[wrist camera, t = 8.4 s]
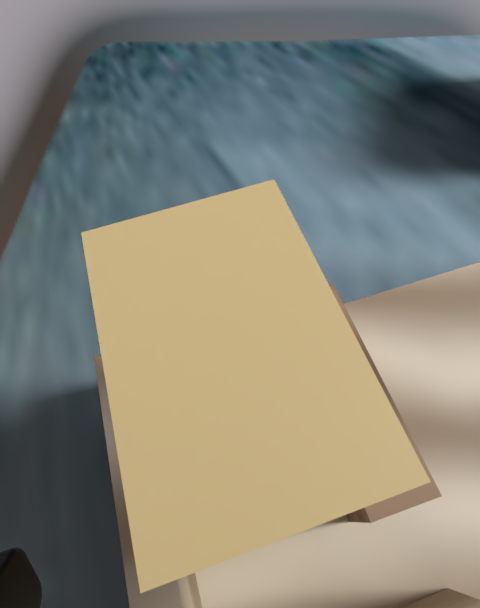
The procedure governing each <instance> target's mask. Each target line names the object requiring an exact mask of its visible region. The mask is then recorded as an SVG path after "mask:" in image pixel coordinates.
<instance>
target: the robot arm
mask: <svg viewBox="0 0 480 608" xmlns="http://www.w3.org/2000/svg"><path fill="white" fill-rule="evenodd" d="M41 598H42V589H41V584H40V581H39V579H38V577H37V575H36V573H35V571H34V569H33V567H32V565H31V563H30V561H29V559H28V558H27V556H26V554H25V552H24V551H23V550H22V549H21V548H12V549H9V550H6V551H3V552H0V608H40V605H41Z"/></svg>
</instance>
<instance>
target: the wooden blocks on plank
mask: <svg viewBox="0 0 480 608" xmlns="http://www.w3.org/2000/svg"><path fill="white" fill-rule="evenodd" d="M329 286H330V288H331V290H332V292H333V294H334V296H335V298H336V300H337V302H338V304H339V306H340V307H341V309H342V311H343V313H344V315H345V317H346V319H347V321H348V323H349V325H350V327H351V329H352V331H353V333H354V335H355V336H356V338H357V340H358V342H359V344H360V346H361V348H362V350H363V352H364V354H365V356H366V358H367V360H368V362H369V363H370V365H371V367H372V369H373V371H374V373H375V375H376V377H377V379H378V381H379V383H380V385H381V387H382V389H383V391H384V392H385V394H386V396H387V398H388V400H389V402H390V404H391V406H392V408H393V410H394V412H395V414H396V416H397V418H398V419H399V421H400V423H401V425H402V427H403V429H404V431H405V433H406V435H407V437H408V439H409V441H410V443H411V445H412V447H413V448H414V450H415V452H416V454H417V456H418V458H419V460H420V462H421V464H422V466H423V468H424V470H425V472H426V474H427V475H428V477H429V479H430V481H431V482H430V483H427V484H424V485H422V486H419V487H417V488H414V489H411V490H409V491H406V492H404V493H401V494H398V495H396V496H393V497H391V498H388V499H385V500H383V501H380V502H378V503H375V504H372V505H370V506H367V507H365V508H362V509H359V510H357V511H354V512H352V513H349V514H346V515H344V516H341V517H339V518H336V519H333V520H331V521H328V522H326V523H323V524H320V525H318V526H315V527H313V528H310V529H307V530H305V531H302V532H300V533H297V534H294V535H292V536H289V537H286V538H284V539H281V540H279V541H276V542H273V543H271V544H268V545H266V546H263V547H260V548H258V549H255V550H253V551H250V552H247V553H245V554H242V555H240V556H237V557H234V558H232V559H229V560H227V561H224V562H221V563H219V564H216V565H214V566H211V567H208V568H206V569H203V570H201V571H198V572H195V573H193V574H190V575H188V576H185V577H182V578H180V579H177V580H175V581H172V582H169V583H167V584H164V585H162V586H159V587H156V588H154V589H151V590H149V591H146V592H143V593H141V594H140V588H139V582H138V576H137V570H136V564H135V558H134V551H133V545H132V539H131V533H130V527H129V521H128V515H127V509H126V503H125V497H124V490H123V484H122V478H121V472H120V466H119V460H118V454H117V448H116V442H115V436H114V429H113V423H112V417H111V411H110V405H109V399H108V393H107V387H106V381H105V375H104V368H103V362H102V356H101V354H100V355H97V356H94V360H95V367H96V374H97V381H98V389H99V396H100V403H101V410H102V417H103V424H104V431H105V438H106V445H107V452H108V459H109V466H110V473H111V480H112V487H113V494H114V501H115V508H116V515H117V522H118V529H119V536H120V543H121V550H122V557H123V564H124V571H125V578H126V586H127V593H128V600H129V607H130V608H480V262H478V263H475V264H472V265H469V266H465V267H462V268H459V269H456V270H452V271H449V272H446V273H443V274H440V275H436V276H433V277H430V278H427V279H423V280H420V281H417V282H414V283H410V284H407V285H404V286H401V287H398V288H394V289H391V290H388V291H385V292H381V293H378V294H375V295H372V296H368V297H365V298H362V299H359V300H356V301H352V302H349V303H346V304H343V302H342V300H341V298H340V296H339V294H338V292H337V290H336V288H335V286H334V284H332V285H329Z"/></svg>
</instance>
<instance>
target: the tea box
mask: <svg viewBox="0 0 480 608" xmlns="http://www.w3.org/2000/svg"><path fill="white" fill-rule="evenodd" d="M81 234H82V240H83V246H84V253H85V259H86V265H87V271H88V277H89V283H90V289H91V295H92V301H93V307H94V314H95V320H96V326H97V332H98V338H99V344H100V350H101V356H102V362H103V368H104V375H105V381H106V387H107V393H108V399H109V405H110V411H111V417H112V423H113V429H114V436H115V442H116V448H117V454H118V460H119V466H120V472H121V478H122V484H123V490H124V497H125V503H126V509H127V515H128V521H129V527H130V533H131V539H132V545H133V551H134V558H135V564H136V570H137V576H138V582H139V588H140V594H141V593H143V592H146V591H149V590H151V589H154V588H156V587H159V586H162V585H164V584H167V583H169V582H172V581H175V580H177V579H180V578H182V577H185V576H188V575H190V574H193V573H195V572H198V571H201V570H203V569H206V568H208V567H211V566H214V565H216V564H219V563H221V562H224V561H227V560H229V559H232V558H234V557H237V556H240V555H242V554H245V553H247V552H250V551H253V550H255V549H258V548H260V547H263V546H266V545H268V544H271V543H273V542H276V541H279V540H281V539H284V538H286V537H289V536H292V535H294V534H297V533H300V532H302V531H305V530H307V529H310V528H313V527H315V526H318V525H320V524H323V523H326V522H328V521H331V520H333V519H336V518H339V517H341V516H344V515H346V514H349V513H352V512H354V511H357V510H359V509H362V508H365V507H367V506H370V505H372V504H375V503H378V502H380V501H383V500H385V499H388V498H391V497H393V496H396V495H398V494H401V493H404V492H406V491H409V490H411V489H414V488H417V487H419V486H422V485H424V484H427V483H430V482H431V481H430V479H429V477H428V475H427V474H426V472H425V470H424V468H423V466H422V464H421V462H420V460H419V458H418V456H417V454H416V452H415V450H414V448H413V447H412V445H411V443H410V441H409V439H408V437H407V435H406V433H405V431H404V429H403V427H402V425H401V423H400V421H399V419H398V418H397V416H396V414H395V412H394V410H393V408H392V406H391V404H390V402H389V400H388V398H387V396H386V394H385V392H384V391H383V389H382V387H381V385H380V383H379V381H378V379H377V377H376V375H375V373H374V371H373V369H372V367H371V365H370V363H369V362H368V360H367V358H366V356H365V354H364V352H363V350H362V348H361V346H360V344H359V342H358V340H357V338H356V336H355V335H354V333H353V331H352V329H351V327H350V325H349V323H348V321H347V319H346V317H345V315H344V313H343V311H342V309H341V307H340V306H339V304H338V302H337V300H336V298H335V296H334V294H333V292H332V290H331V288H330V286H329V284H328V282H327V280H326V279H325V277H324V275H323V273H322V271H321V269H320V267H319V265H318V263H317V261H316V259H315V257H314V255H313V253H312V251H311V250H310V248H309V246H308V244H307V242H306V240H305V238H304V236H303V234H302V232H301V230H300V228H299V226H298V224H297V223H296V221H295V219H294V217H293V215H292V213H291V211H290V209H289V207H288V205H287V203H286V201H285V199H284V197H283V195H282V194H281V192H280V190H279V188H278V186H277V184H276V182H275V180H270V181H266V182H263V183H259V184H256V185H252V186H248V187H245V188H241V189H238V190H234V191H230V192H227V193H223V194H219V195H216V196H212V197H209V198H205V199H201V200H198V201H194V202H190V203H187V204H183V205H180V206H176V207H172V208H169V209H165V210H162V211H158V212H154V213H151V214H147V215H143V216H140V217H136V218H133V219H129V220H125V221H122V222H118V223H114V224H111V225H107V226H104V227H100V228H96V229H93V230H89V231H86V232H82V233H81Z"/></svg>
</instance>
